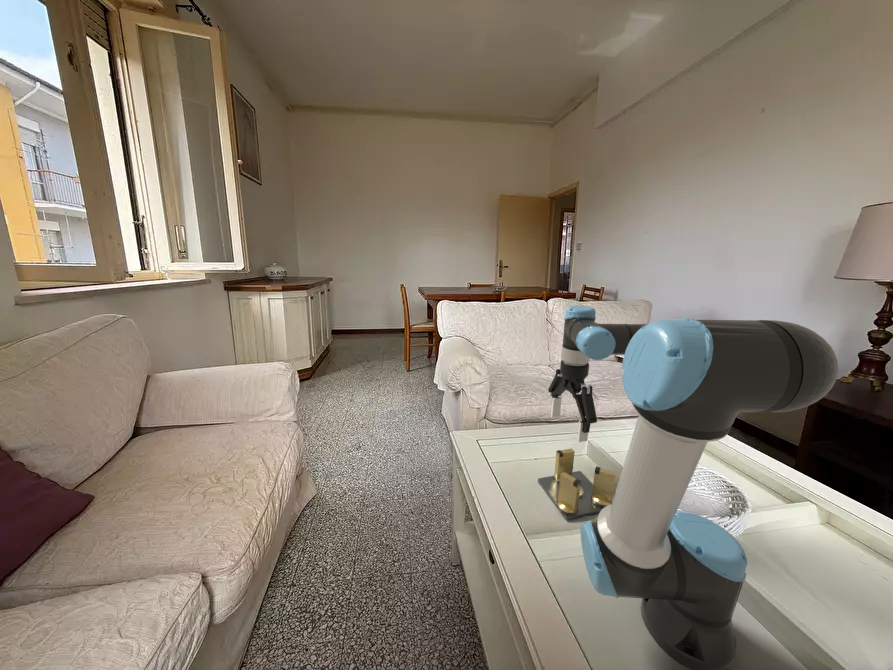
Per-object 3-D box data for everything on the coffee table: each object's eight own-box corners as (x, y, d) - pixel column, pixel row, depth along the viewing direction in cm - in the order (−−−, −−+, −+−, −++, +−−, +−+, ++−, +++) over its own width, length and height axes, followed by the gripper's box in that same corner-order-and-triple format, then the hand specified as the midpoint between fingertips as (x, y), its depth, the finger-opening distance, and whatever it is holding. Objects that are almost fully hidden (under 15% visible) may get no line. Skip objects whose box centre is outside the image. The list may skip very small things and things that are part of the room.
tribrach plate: (616, 510, 96) (617, 502, 95) (564, 521, 92) (564, 514, 92) (580, 471, 112) (581, 465, 111) (534, 480, 108) (534, 473, 107)
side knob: (610, 508, 94) (614, 479, 92) (590, 501, 97) (594, 473, 94) (612, 496, 99) (616, 468, 96) (593, 490, 101) (596, 462, 99)
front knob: (564, 496, 99) (567, 468, 96) (581, 507, 95) (584, 478, 92) (553, 505, 96) (556, 476, 93) (570, 516, 92) (573, 486, 89)
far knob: (575, 481, 105) (578, 454, 102) (560, 484, 104) (562, 457, 101) (565, 470, 110) (568, 444, 107) (551, 473, 109) (553, 447, 106)
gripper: (618, 377, 85) (607, 450, 91) (561, 346, 108) (555, 406, 114) (592, 380, 83) (583, 455, 89) (540, 348, 106) (535, 409, 112)
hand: (567, 428), depth 101 cm, fingers open, 13 cm apart
